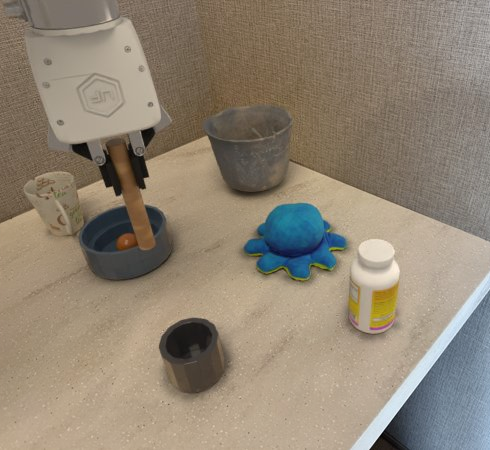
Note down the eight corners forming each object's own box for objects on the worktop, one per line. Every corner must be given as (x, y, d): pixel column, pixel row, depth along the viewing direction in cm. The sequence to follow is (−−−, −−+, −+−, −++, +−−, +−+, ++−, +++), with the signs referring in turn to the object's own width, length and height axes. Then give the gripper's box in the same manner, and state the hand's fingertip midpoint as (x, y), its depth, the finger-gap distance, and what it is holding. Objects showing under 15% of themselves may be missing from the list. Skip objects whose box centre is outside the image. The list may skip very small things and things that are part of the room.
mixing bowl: (95, 293, 71) (83, 265, 67) (85, 245, 81) (74, 218, 77) (182, 263, 76) (175, 236, 72) (162, 222, 86) (155, 196, 82)
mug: (82, 209, 91) (65, 166, 85) (104, 237, 83) (87, 192, 77) (39, 226, 86) (18, 182, 81) (58, 257, 78) (36, 210, 73)
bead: (122, 263, 75) (115, 245, 73) (118, 250, 78) (111, 232, 76) (145, 256, 77) (139, 237, 75) (141, 243, 80) (135, 225, 77)
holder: (177, 403, 54) (167, 374, 51) (163, 360, 60) (153, 330, 56) (232, 378, 57) (226, 349, 54) (214, 339, 62) (207, 309, 59)
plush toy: (276, 295, 69) (272, 254, 64) (232, 239, 81) (226, 201, 76) (362, 257, 75) (365, 217, 70) (310, 210, 87) (309, 173, 82)
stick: (140, 252, 54) (106, 147, 45) (138, 243, 55) (104, 140, 47) (157, 247, 54) (126, 143, 46) (154, 238, 56) (123, 136, 48)
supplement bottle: (400, 311, 65) (410, 243, 58) (384, 342, 61) (392, 273, 53) (359, 295, 68) (363, 228, 61) (340, 324, 64) (341, 256, 56)
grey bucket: (287, 212, 87) (283, 142, 78) (202, 206, 90) (189, 138, 81) (301, 168, 101) (299, 104, 92) (227, 164, 104) (218, 102, 95)
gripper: (-35, 30, 34) (54, 225, 44) (172, 4, 39) (207, 183, 50) (-26, 13, 39) (51, 190, 50) (155, -8, 44) (189, 156, 55)
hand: (129, 186), depth 50 cm, fingers closed on stick, 2 cm apart
